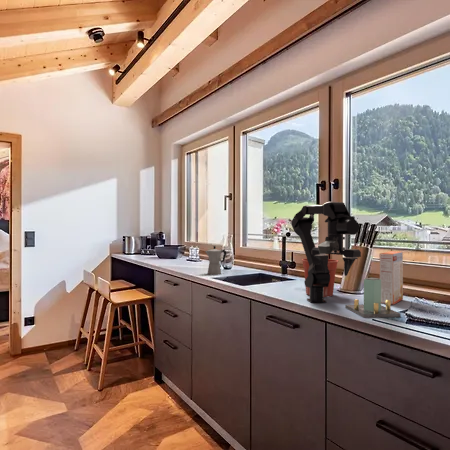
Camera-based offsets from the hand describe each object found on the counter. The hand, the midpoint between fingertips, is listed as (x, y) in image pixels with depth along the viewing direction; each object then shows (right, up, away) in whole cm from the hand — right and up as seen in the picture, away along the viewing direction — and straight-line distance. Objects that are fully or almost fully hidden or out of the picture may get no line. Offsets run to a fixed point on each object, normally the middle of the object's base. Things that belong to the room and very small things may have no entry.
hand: (335, 274), depth 144 cm
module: (+11, -12, -8) cm, 18 cm away
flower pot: (+1, -13, +27) cm, 30 cm away
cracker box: (+28, -13, +13) cm, 33 cm away
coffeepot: (-49, -13, +97) cm, 110 cm away
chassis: (+11, -13, -7) cm, 19 cm away
